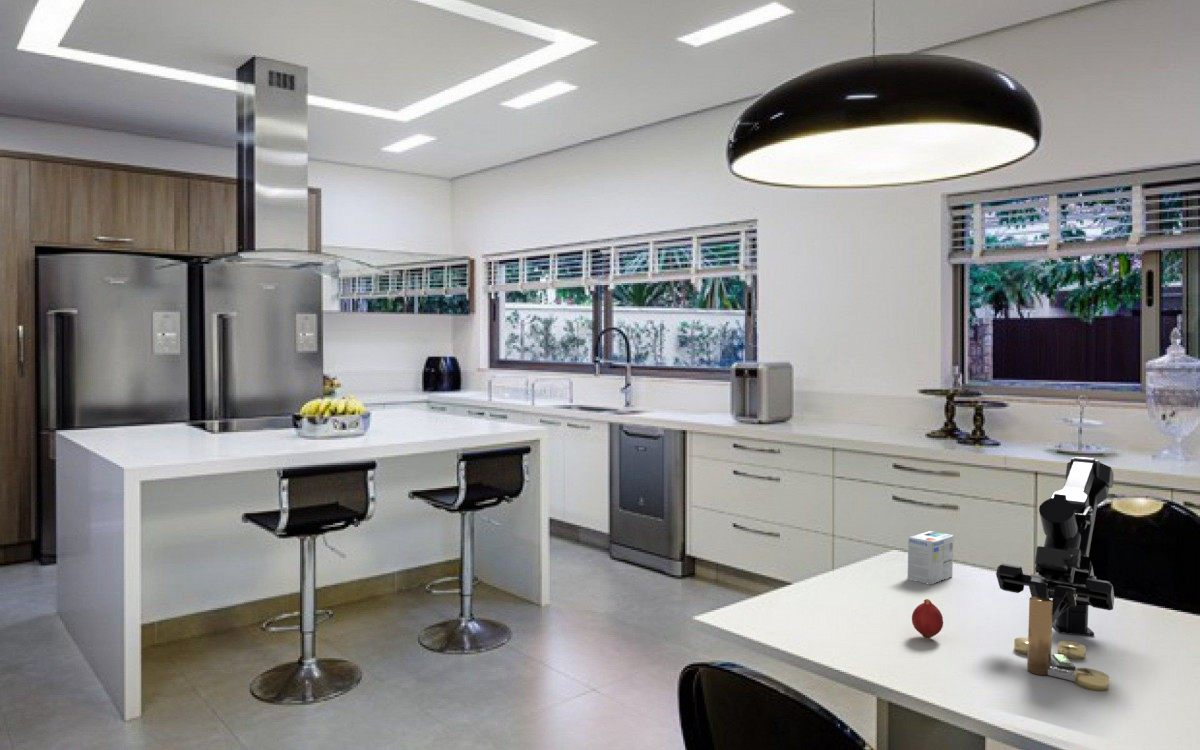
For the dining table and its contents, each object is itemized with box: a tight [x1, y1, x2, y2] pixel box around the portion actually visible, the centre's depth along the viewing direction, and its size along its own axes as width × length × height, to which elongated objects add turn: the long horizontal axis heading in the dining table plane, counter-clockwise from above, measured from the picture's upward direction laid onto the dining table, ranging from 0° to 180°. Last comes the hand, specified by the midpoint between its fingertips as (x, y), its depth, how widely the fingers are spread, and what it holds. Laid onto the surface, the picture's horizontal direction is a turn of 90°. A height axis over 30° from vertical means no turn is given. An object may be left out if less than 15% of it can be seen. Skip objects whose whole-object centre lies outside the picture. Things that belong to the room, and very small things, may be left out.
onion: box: [911, 598, 944, 640], centre depth 162 cm, size 6×6×8 cm
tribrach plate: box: [1013, 637, 1086, 672], centre depth 145 cm, size 20×20×3 cm
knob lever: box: [1026, 596, 1110, 692], centre depth 140 cm, size 12×5×13 cm, turn 51°
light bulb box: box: [907, 530, 955, 585], centre depth 202 cm, size 11×7×11 cm, turn 130°
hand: (1045, 626), depth 147 cm, fingers closed
